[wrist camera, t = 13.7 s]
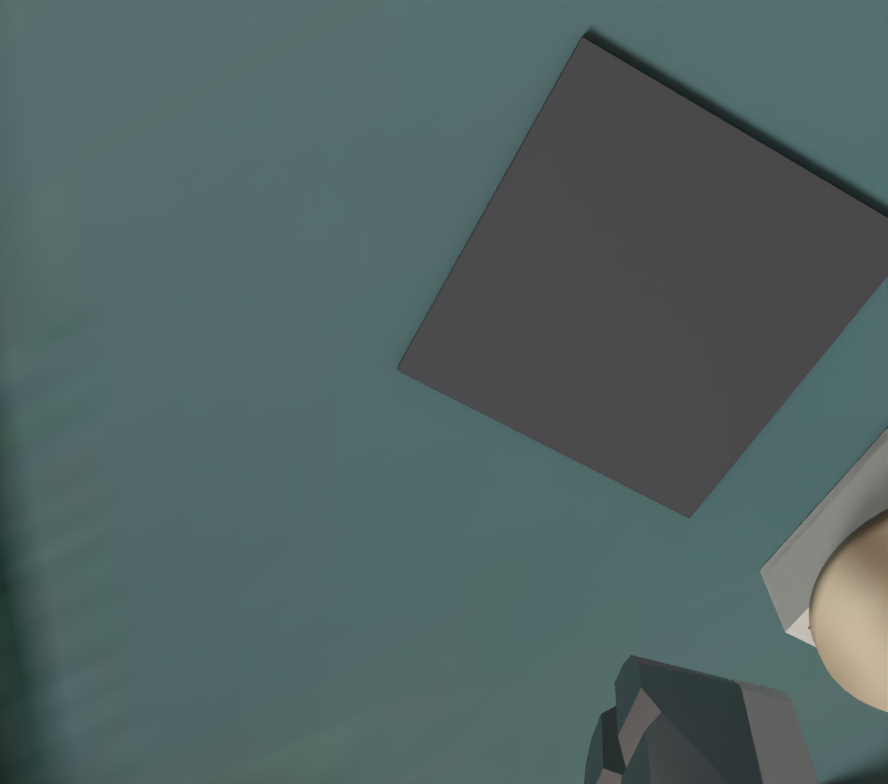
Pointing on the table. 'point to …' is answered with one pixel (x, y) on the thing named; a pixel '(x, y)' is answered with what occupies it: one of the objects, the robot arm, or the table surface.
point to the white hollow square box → (825, 537)
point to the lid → (855, 613)
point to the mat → (646, 284)
